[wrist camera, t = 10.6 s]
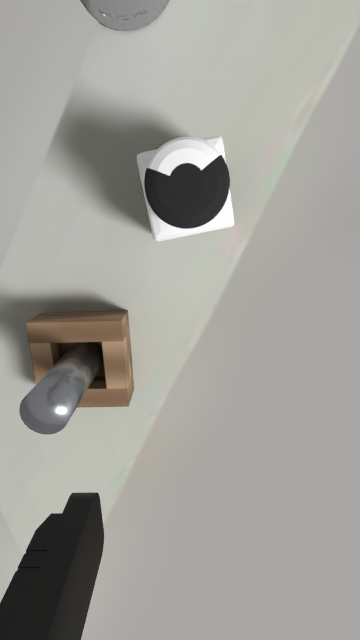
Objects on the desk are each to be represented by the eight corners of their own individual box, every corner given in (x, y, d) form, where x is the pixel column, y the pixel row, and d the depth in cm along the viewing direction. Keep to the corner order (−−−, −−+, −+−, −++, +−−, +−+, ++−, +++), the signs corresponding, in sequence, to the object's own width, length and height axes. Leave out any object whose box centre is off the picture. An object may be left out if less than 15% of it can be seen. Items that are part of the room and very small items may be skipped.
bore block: (42, 313, 37) (25, 323, 33) (127, 310, 37) (121, 320, 33) (54, 390, 40) (40, 408, 36) (133, 388, 40) (128, 406, 36)
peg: (68, 339, 37) (15, 391, 25) (102, 339, 37) (65, 390, 25) (72, 371, 38) (23, 434, 27) (106, 370, 38) (71, 433, 26)
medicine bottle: (225, 226, 34) (245, 226, 23) (159, 239, 35) (147, 245, 23) (214, 153, 32) (231, 112, 21) (145, 168, 33) (123, 136, 21)
